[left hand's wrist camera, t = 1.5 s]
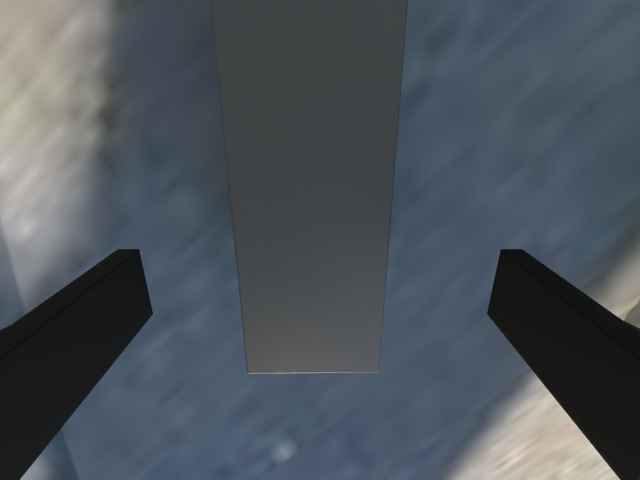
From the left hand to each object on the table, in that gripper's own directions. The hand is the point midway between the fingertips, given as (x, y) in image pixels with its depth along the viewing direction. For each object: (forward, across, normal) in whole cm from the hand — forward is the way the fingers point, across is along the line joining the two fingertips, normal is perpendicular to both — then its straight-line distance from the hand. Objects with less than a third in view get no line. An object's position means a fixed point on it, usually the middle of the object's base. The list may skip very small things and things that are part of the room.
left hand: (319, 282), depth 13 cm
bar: (+8, 0, -7) cm, 10 cm away
